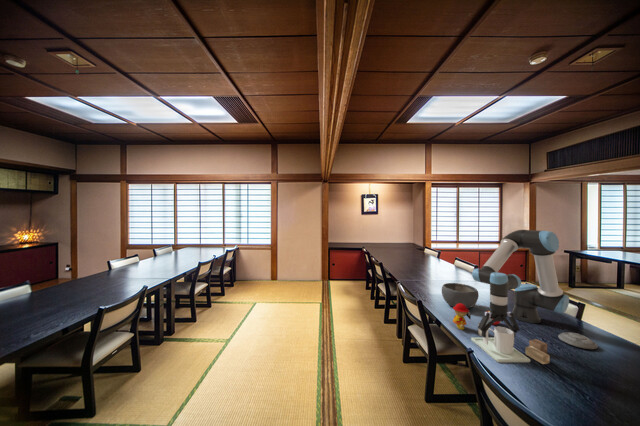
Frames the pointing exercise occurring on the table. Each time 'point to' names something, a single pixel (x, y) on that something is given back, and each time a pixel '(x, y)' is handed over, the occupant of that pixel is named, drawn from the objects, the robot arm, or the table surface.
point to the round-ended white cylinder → (480, 331)
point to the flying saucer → (577, 340)
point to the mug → (503, 340)
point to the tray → (498, 355)
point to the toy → (461, 315)
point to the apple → (495, 322)
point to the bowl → (459, 294)
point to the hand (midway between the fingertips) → (498, 343)
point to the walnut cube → (538, 345)
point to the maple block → (537, 355)
